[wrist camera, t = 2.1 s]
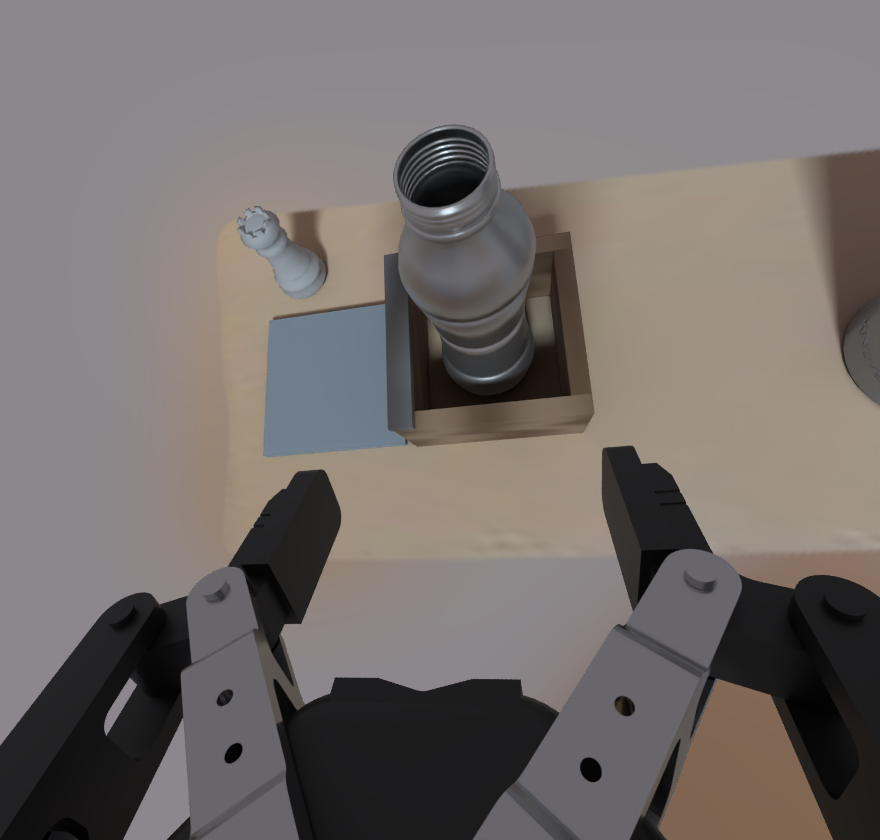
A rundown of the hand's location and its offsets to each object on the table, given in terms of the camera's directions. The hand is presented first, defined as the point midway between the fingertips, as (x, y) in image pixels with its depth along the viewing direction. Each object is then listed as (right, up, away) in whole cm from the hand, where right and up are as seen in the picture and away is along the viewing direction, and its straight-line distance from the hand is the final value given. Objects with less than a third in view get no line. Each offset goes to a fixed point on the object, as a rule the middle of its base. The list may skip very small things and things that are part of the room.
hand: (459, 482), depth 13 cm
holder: (+4, +6, +22) cm, 23 cm away
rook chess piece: (-13, +14, +28) cm, 34 cm away
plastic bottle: (+4, +6, +22) cm, 23 cm away
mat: (-9, +5, +24) cm, 27 cm away
